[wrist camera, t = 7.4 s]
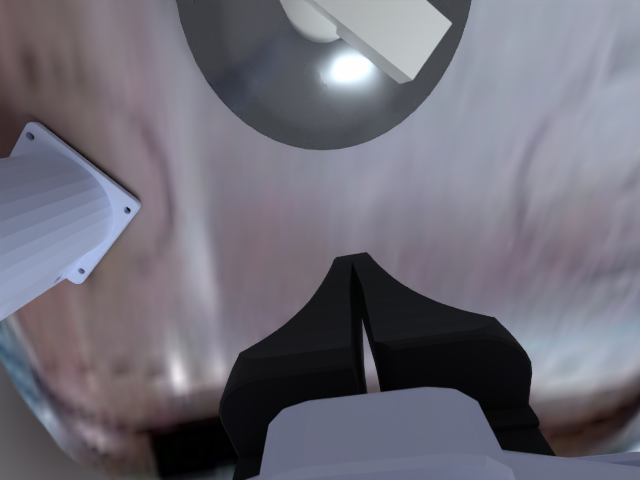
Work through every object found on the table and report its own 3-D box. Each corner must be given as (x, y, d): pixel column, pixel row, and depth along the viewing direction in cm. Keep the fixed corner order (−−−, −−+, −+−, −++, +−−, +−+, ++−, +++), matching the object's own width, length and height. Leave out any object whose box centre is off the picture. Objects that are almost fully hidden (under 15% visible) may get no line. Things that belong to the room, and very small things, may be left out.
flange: (323, 193, 21) (322, 200, 19) (133, 8, 17) (113, -2, 15) (518, 2, 16) (538, -8, 15) (322, -316, 12) (321, -377, 11)
